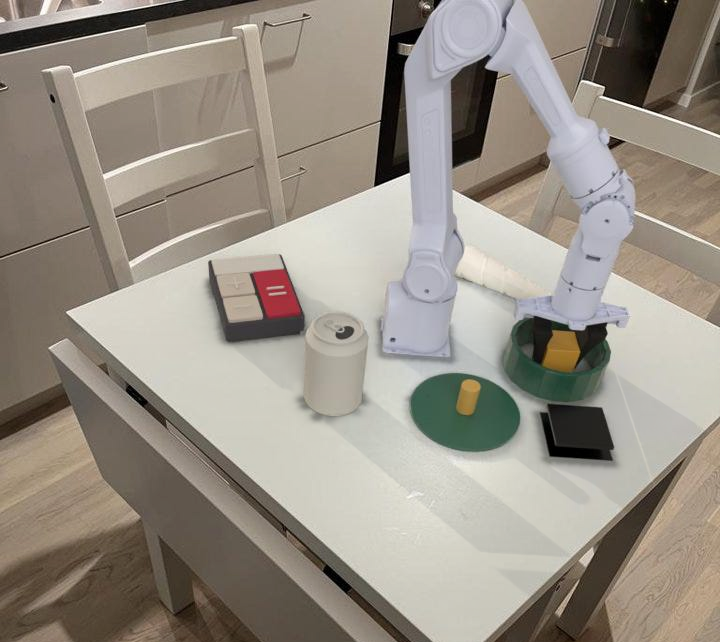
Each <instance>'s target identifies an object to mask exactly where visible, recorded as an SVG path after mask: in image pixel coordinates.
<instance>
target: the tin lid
mask: <svg viewBox="0 0 720 642" xmlns="http://www.w3.org/2000/svg"><path fill="white" fill-rule="evenodd" d="M409 412H410V415H411V418H412V420H413V422H414V424H415V425H416V427H417V428H418V429H419V430H420V431H421V433H422V434H423V435H424V436H426V437H427V438H429V439H430V440H432V441H433V442H435V443H437V444H438V445H441V446H443V447H446V448H449V449H453V450H455V451H456V450H457V451H461V452H469V453H471V452H475V453H477V452H478V453H479V452H486V451H491V450H494V449H497V448H500V447H503V446H504V445H506V444H507V443H509V442H510V441H511V440H512V439H513V438H514V437H515V435H517V432H518V431H519V427H520V425H521V412H520V410H519V406H518V404H517V403H516V401H515V399H514V398H513V397H512V396H511V394H510V393H509V392H508V391H507V390H506V389H504V388H503V387H501V386H500V385H499V384H497V383H495V382H494V381H491V380H489V379H488V378H484V377H481V376H478V375H475V374H469V373H462V372H451V373H449V372H447V373H441V374H437V375H434V376H431V377H429V378H427V379H425V380H424V381H422V382H421V383H420V384H419V385H418V386H417V387H416V388H415V389H414V391H413V392H412V394H411V396H410V402H409Z"/></svg>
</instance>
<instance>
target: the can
mask: <svg viewBox="0 0 720 642" xmlns="http://www.w3.org/2000/svg"><path fill="white" fill-rule="evenodd" d="M368 346H369V334H368V332H367V330H366V329H365V325H364V323H363V321H362V320H361V319H360V318H359V317H358V316H356V315H355V314H352V313H350V312H347V311H343V310H329V311H328V310H327V311H325V312H322V313H320V314H318V315H316V316H315V317H314V319H312V321H311V324H310V325H309V327H307V329H306V332H305V341H304V370H303V371H304V374H303V398H304V402H305V403H306V405H307V406H308V407H309V408H310V410H313V411H314V412H316V413H317V414H321V415H324V416H329V417H330V416H331V417H341V416H345V415H348V414H351V413H353V412H355V411H356V410H357V409H359V407H360V405H361V404H362V400H363V392H364V384H365V373H366V366H367V356H368V354H367V353H368V348H369V347H368Z"/></svg>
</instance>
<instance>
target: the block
mask: <svg viewBox="0 0 720 642" xmlns="http://www.w3.org/2000/svg"><path fill="white" fill-rule="evenodd" d="M552 332H553V336H552V338H551V339H550V341H549V343H548V345H547V347H546V349H545V352H544V356H543V359H542V361H541V363H540V365H542V366H544V367H546V368H549V369H553V370H557V371H560V372H573V373H574V370H575V369H576V368H575V365H576V362H577V360H578V357H579V355H580V349H579V345H578V342H577V339H576V335H575V332H569V331H556V330H552ZM574 368H575V369H574Z"/></svg>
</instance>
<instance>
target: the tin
mask: <svg viewBox="0 0 720 642" xmlns="http://www.w3.org/2000/svg"><path fill="white" fill-rule="evenodd" d="M551 323H552V327H551V328H552V330H556V331H569V332H575V335H576V334H577V330H571V329H570V328H569V327H568V325H566V324H563V323H559V322H556V321H552V320H551ZM531 343H532V344H533V343H534V336H533V326H532V320H531V318H526V317H524V318H523V320H517V321H516V322H515V324H514V325H513V326H512V329H511V332H510V335H509V338H508V341H507V345H506V348H505V352H504V356H503V359H502V363H503V369H504V372H505V374H506V375H507V377H508V378H509V380H510V381H511V383H513V384H515V385H516V386H517V387H518V389H520V390H522V391H524V392H525V393H528V394H529V395H531V396H533V397H536V398H539V399H542V400H546V401H549V402H554V403H555V402H557V403H572V402H578V401H582V400H584V399H586V398H588V397H590V396H592V395H593V394H594V393H595V392H596V390H597V389H598V388H599V387H600V385H601V382H602V380H603V378H604V375H605V372H606V370H607V368H608V366H609V363H610V361H611V356H612V355H611V354H612V350H611V347H610V344H609V342H608V340H607V338H605V340H604V341H603V342H601V343H599V344H598V345H596V346H595V347H594V348H593V349H591V350H590V351H589V352H588V353H587V354H586V355H585V357H584V358H583V359H584V360H586V362H587V363H588V364H589V365H590V367H591V368H592V369H589V370H584V371H578V372H574V371H573V372H560V371H557V370H553V369H549V368H546V367H544V366H542V365H540V364H538V363H536V362H534V361H533V359H532V358H530V357H529V356H528V355H526V354H525V353H524V351H523V350H522V348H521V346H524V345H525V344H531Z"/></svg>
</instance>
